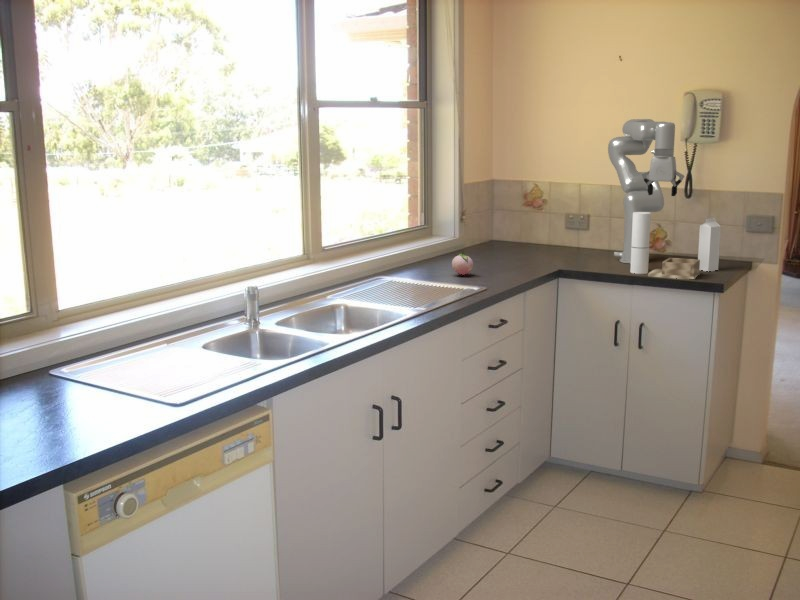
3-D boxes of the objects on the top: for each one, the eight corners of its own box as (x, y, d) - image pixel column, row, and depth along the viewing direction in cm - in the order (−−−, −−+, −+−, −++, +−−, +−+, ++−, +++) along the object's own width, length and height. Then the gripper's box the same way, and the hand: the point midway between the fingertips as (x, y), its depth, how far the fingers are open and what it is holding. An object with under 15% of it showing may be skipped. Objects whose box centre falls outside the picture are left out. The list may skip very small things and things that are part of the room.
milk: (718, 270, 361) (722, 218, 356) (708, 272, 358) (711, 219, 353) (706, 268, 366) (710, 217, 361) (696, 269, 363) (700, 218, 359)
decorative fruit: (448, 275, 359) (448, 251, 357) (465, 273, 362) (465, 250, 360) (458, 278, 351) (458, 254, 349) (476, 277, 354) (476, 253, 352)
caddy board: (648, 276, 350) (648, 261, 349) (655, 271, 361) (656, 256, 360) (693, 279, 342) (694, 264, 340) (699, 274, 353) (700, 259, 351)
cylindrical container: (649, 271, 361) (652, 212, 356) (646, 274, 355) (649, 214, 349) (631, 270, 364) (634, 211, 359) (628, 273, 358) (631, 213, 352)
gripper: (640, 153, 352) (638, 195, 355) (682, 154, 342) (679, 197, 345) (646, 152, 358) (644, 193, 361) (688, 153, 348) (685, 195, 351)
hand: (661, 195), depth 353 cm, fingers open, 9 cm apart
